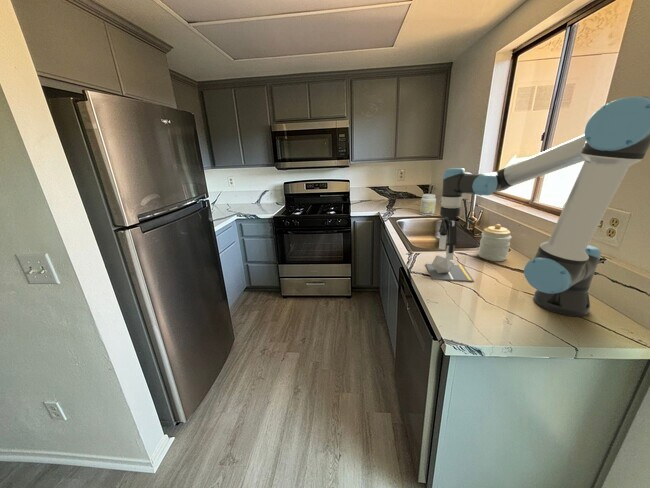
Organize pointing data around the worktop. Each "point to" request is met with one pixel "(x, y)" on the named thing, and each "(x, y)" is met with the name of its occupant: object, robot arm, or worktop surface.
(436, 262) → the die
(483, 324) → the worktop surface
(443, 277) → the mat
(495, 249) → the jar
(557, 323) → the worktop surface
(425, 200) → the supplement tub
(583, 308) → the robot arm
